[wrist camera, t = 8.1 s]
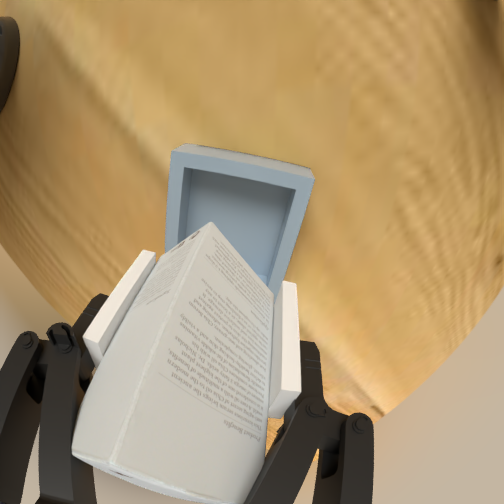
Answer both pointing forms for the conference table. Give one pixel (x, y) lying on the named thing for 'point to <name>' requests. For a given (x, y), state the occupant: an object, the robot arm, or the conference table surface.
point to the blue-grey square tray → (239, 204)
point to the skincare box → (186, 379)
